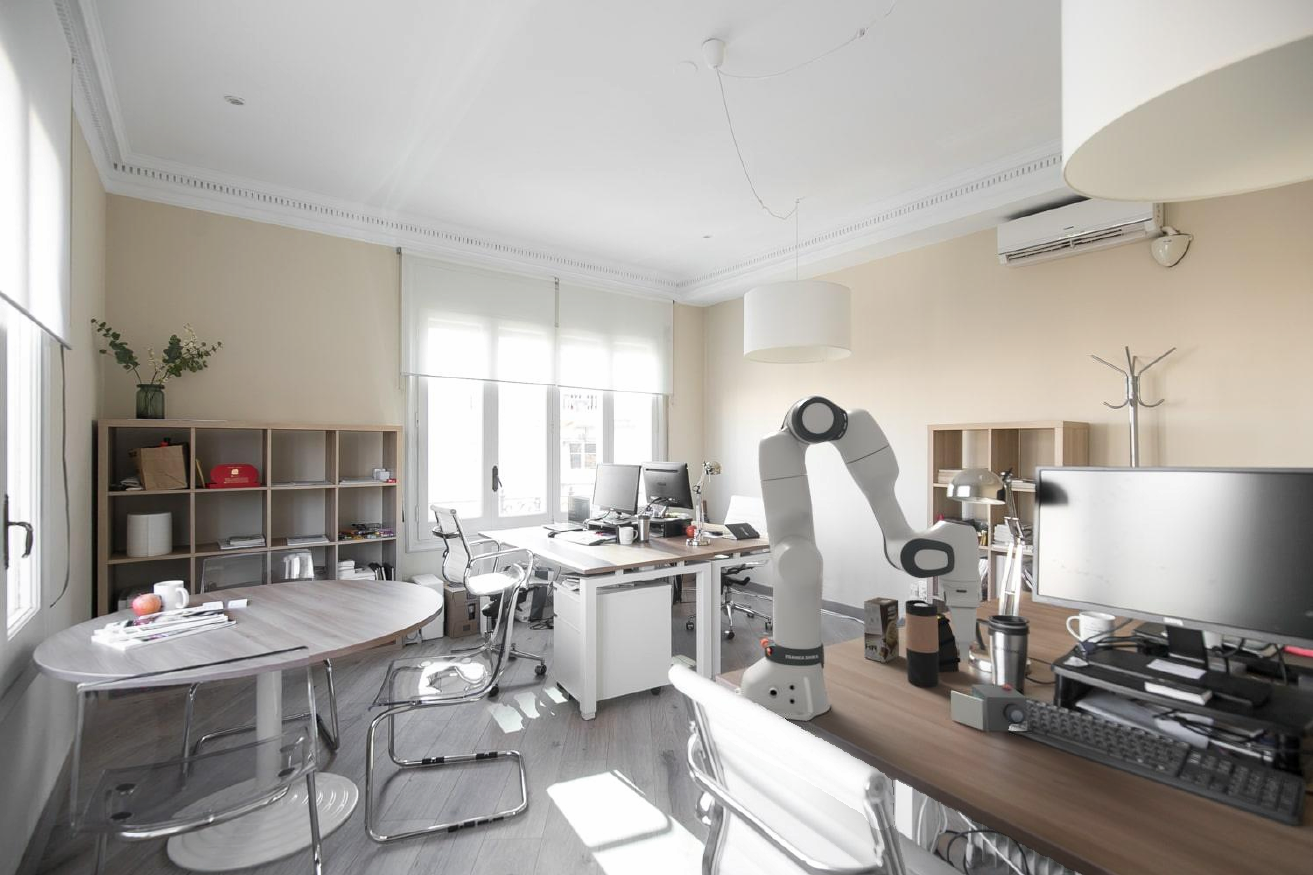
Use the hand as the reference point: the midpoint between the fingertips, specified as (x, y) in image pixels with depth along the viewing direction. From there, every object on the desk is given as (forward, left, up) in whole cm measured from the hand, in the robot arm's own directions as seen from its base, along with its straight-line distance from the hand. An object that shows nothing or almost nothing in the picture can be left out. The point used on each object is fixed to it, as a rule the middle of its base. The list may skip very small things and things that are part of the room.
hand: (963, 652), depth 137 cm
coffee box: (-7, +37, -13) cm, 40 cm away
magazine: (+3, +26, -13) cm, 29 cm away
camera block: (+4, -7, -13) cm, 15 cm away
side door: (-3, -9, -13) cm, 15 cm away
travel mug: (-3, +17, -13) cm, 21 cm away
